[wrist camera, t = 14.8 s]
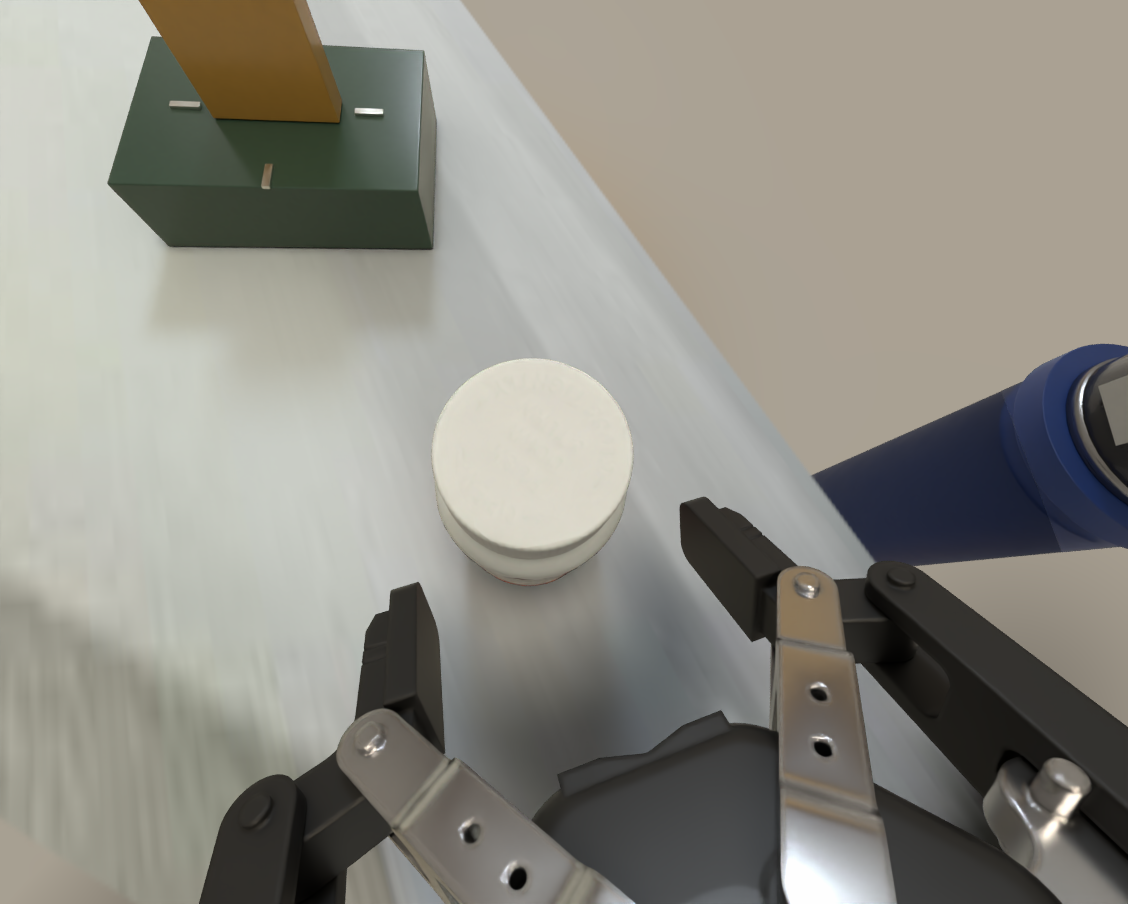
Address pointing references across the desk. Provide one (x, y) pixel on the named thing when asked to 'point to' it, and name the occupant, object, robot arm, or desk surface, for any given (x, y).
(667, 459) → the desk surface
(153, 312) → the desk surface
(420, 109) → the dark green block
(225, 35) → the mustard yellow slab
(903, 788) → the desk surface
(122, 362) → the desk surface
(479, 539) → the pill bottle
